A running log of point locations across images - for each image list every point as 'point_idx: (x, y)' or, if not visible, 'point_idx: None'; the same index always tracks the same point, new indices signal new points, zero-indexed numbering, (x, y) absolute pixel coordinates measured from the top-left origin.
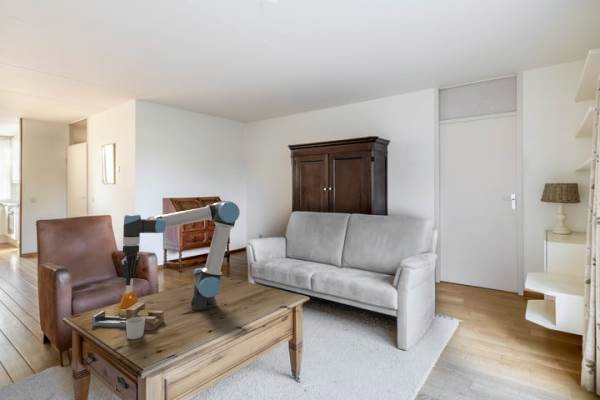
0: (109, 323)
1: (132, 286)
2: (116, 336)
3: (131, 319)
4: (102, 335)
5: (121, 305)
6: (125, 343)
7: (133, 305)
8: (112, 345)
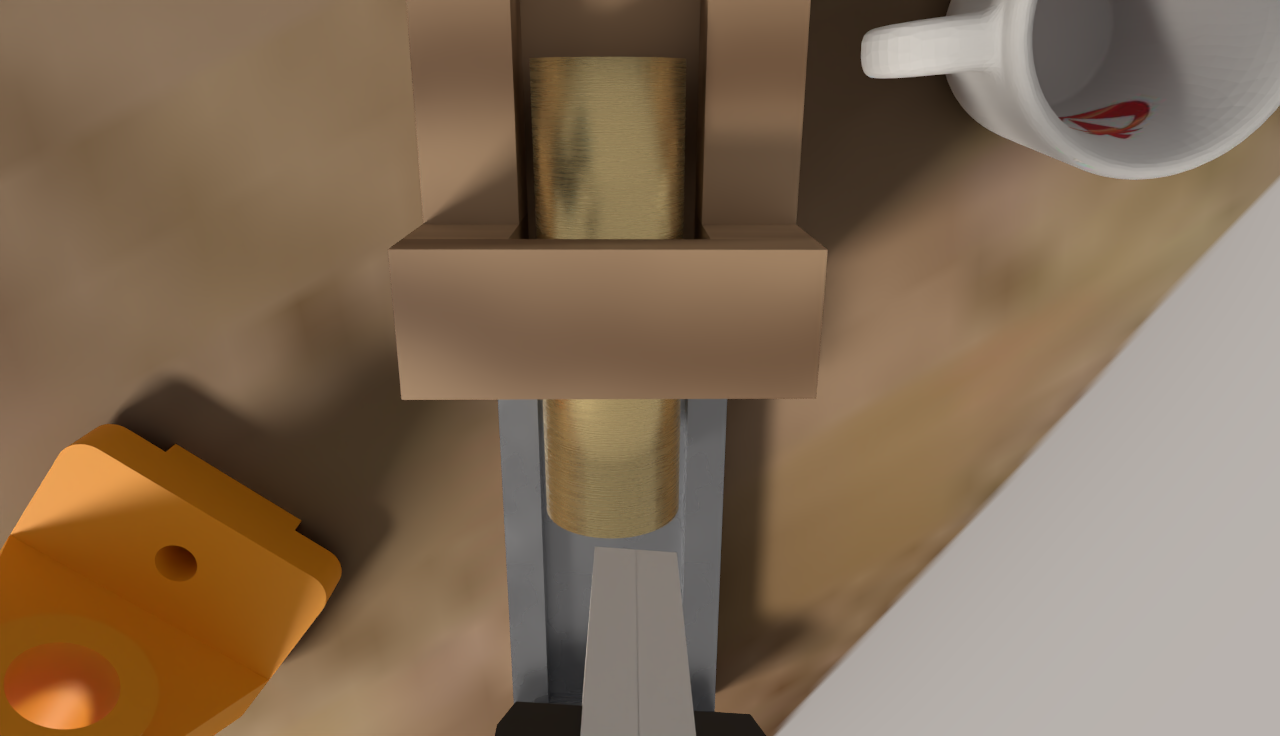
0: (720, 545)
1: (613, 626)
2: (988, 292)
3: (1076, 137)
4: (952, 462)
5: (229, 701)
6: None
7: (585, 387)
8: (1242, 195)
